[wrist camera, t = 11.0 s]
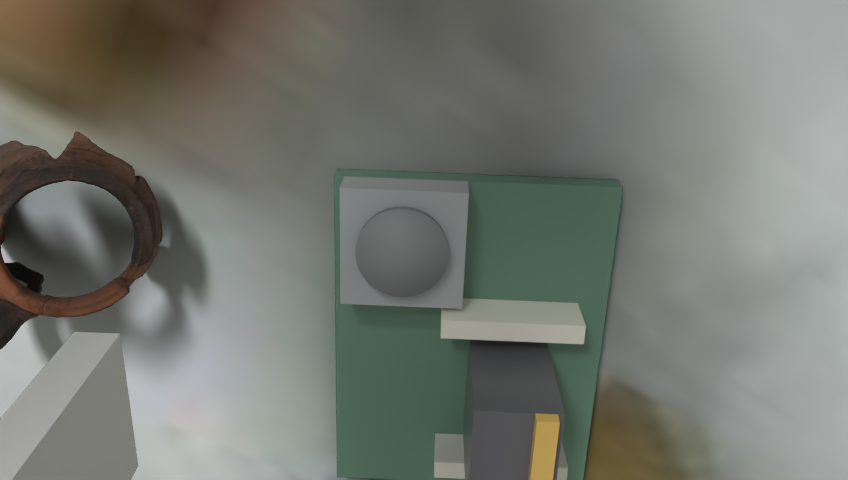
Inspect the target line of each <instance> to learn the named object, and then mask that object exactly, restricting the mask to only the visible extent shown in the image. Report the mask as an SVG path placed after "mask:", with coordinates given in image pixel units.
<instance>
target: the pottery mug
mask: <svg viewBox="0 0 848 480" xmlns="http://www.w3.org/2000/svg"><path fill="white" fill-rule="evenodd" d="M66 180H69V181H79V182H84V183H87V184H91V185H95V186H98V187H100V188H102V189H105V190H106V191H108V192H109V193H111V194H112V195H113V196H115V197H116V198H117V199H118V200H119V201H120V202H121V203H122V205H123V206H124V207H125V208H126V210H127V212H128V214H129V216H130V218H131V220H132V223H133V226H134V232H135V234H134V238H135V242H134V249H133V252H132V258H131V262H130V264H129V266H128V267H127V269H126V270H125V271H124V272H123V273H122V274H121V276H120V277H118V278H116V279H114V280H113V281H111V282H110V283H109V284H107V285H106V286H104V287H102V288H101V289H99V290H96V291H94V292H92V293H89V294H86V295H82V296H77V297H67V298H58V297H52V296H48V295H41V294H40V293H41V291H42V286H41V285H42V283H43V281H44V277H43V275H42V274H40V273H38V272H35V271H33V270H30V269H29V268H27V267H25V266H24V265H22V264H21V263H17V262H15V263H4V260H3V257H2V254H1V244H2V243H3V242H4V241H5V239H6V238H5V236H4V235H3V234H2V228H3V225H4V223H5V221H6V219H7V215H8V213H9V212H10V210H11V209H12V208H13V207H14V206H15V204H16V203H17V202H18V201H20V200H21V199H22V198H23V197H24V196H25V195H27V194H28V193H30V192H32V191H34V190H36V189H38V188H40V187H43V186H46V185H49V184H52V183H57V182H63V181H66ZM161 240H162V223H161V218H160V212H159V208H158V205H157V202H156V199H155V197H154V195H153V193H152V191H151V189H150V187H149V186H148V183H147V182H146V180H145V179H144V178H143V177H142V176H135V173H134V169H133V168H132V166H131V165H129V164H128V163H126V162H125V161H123V160H122V159H120V158H117V157H115V156H113V155H112V154H109V153H107V152H106V151H104V150H103V149H101V148H100V147H98V146H97V145H96V144H94V143H92V142H91V140H90V139H89V138H87V137H86V136H84V135H83V134H81V133H80V132H75V133H74V137H73V139H72V140H71V142H70V143H69V144H68V145H67V147H66V149H65V150H64V151H63V153H62V154H61V155H60V156H59V157H58V158H57V159H54V158H52V157H51V156H50V155H49V154H48V152H47V151H46V150H43V149H41V148H39V147H36V146H28V145H23V144H22V143H20V142H18V141H10V142H8V143H6V144H4V145H1V146H0V349H2V348H3V347H4V346H5V345H6V344H7V343H8V342H9V341H10V340H11V339H12V337H13V336H14V335H15V333H16V332H17V330H18V329H19V328H20V326H21V325H22V324H23V323H24V322H26V321H27V320H29V319H31V318H34V317H37V316H39V315H45V316H52V317H77V316H84V315H89V314H91V313H95V312H98V311H101V310H103V309H105V308H108V307H110V306H112V305H113V304H115V303H116V302H117V301H119V300H121V299H122V298H123V297H124V296H126V295H127V294H128V293H129V291H130V289H129V286H130V285H131V284H132V283H133V282H134V280H136V279H138V278H139V277H141V276H143V275H144V273H145V272H146V271H147V269H148V268H149V266H150V265H151V263H152V262H153V260H154V258H155V256H156V253H157V251H158V245H159V243H160V242H161Z"/></svg>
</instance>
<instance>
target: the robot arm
mask: <svg viewBox="0 0 848 480" xmlns="http://www.w3.org/2000/svg"><path fill="white" fill-rule="evenodd" d="M137 467H138V461H137V454H136V446H135V439H134V432H133V425H132V417H131V410H130V403H129V395H128V388H127V381H126V373H125V366H124V359H123V352H122V344H121V337H120V334H118V333H95V332H73V334H72V335H71V336H70V337H69V338H68V339H67V341H66V342H65V343H64V344H63V345H62V346H61V348H60V349H59V350H58V351H57V352H56V354H55V355H54V356H53V357H52V358H51V359H50V361H49V362H48V363H47V364H46V365H45V366H44V368H43V369H42V370H41V371H40V372H39V374H38V375H37V376H36V377H35V378H34V379H33V381H32V382H31V383H30V384H29V385H28V386H27V388H26V389H25V390H24V391H23V392H22V393H21V395H20V396H19V397H18V398H17V399H16V401H15V402H14V403H13V404H12V405H11V406H10V408H9V409H8V410H7V411H6V412H5V413H4V415H3V416H2V417H1V418H0V480H131V478H132V476H133V475H134V473H135V471H136V469H137Z"/></svg>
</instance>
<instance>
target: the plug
mask: <svg viewBox="0 0 848 480" xmlns="http://www.w3.org/2000/svg"><path fill="white" fill-rule="evenodd" d="M564 418H565V413H564V409H563V405H562V401H561V397H560V393H559V389H558V385H557V381H556V377H555V373H554V368H553V364H552V360H551V356H550V352H549V348H548V344H547V343H541V342H517V341H494V340H470V339H469V348H468V363H467V378H466V393H465V407H464V422H463V442H464V471H465V480H557V473H558V466H559V458H560V450H561V442H562V434H563V426H564Z"/></svg>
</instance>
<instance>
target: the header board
mask: <svg viewBox="0 0 848 480" xmlns="http://www.w3.org/2000/svg"><path fill="white" fill-rule="evenodd" d="M622 191H623V187H622V185H621V184H620V182H619V181H618V180H604V179H579V178H554V177H529V176H504V175H479V174H454V173H430V172H405V171H380V170H355V169H337V170H336V173H335V175H334V226H335V324H336V423H337V477H344V478H367V479H389V480H465V471H464V442H463V422H464V407H465V393H466V378H467V363H468V348H469V339H470V340H494V341H517V342H541V343H547V344H548V348H549V352H550V356H551V360H552V364H553V368H554V373H555V377H556V381H557V385H558V389H559V393H560V397H561V401H562V405H563V409H564V413H565V418H564V426H563V434H562V442H561V450H560V458H559V466H558V473H557V480H583V477H584V470H585V463H586V455H587V448H588V440H589V433H590V426H591V418H592V411H593V404H594V396H595V389H596V382H597V374H598V367H599V360H600V352H601V345H602V338H603V330H604V323H605V316H606V308H607V301H608V294H609V286H610V279H611V272H612V264H613V257H614V250H615V242H616V235H617V228H618V220H619V213H620V206H621V198H622Z"/></svg>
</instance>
